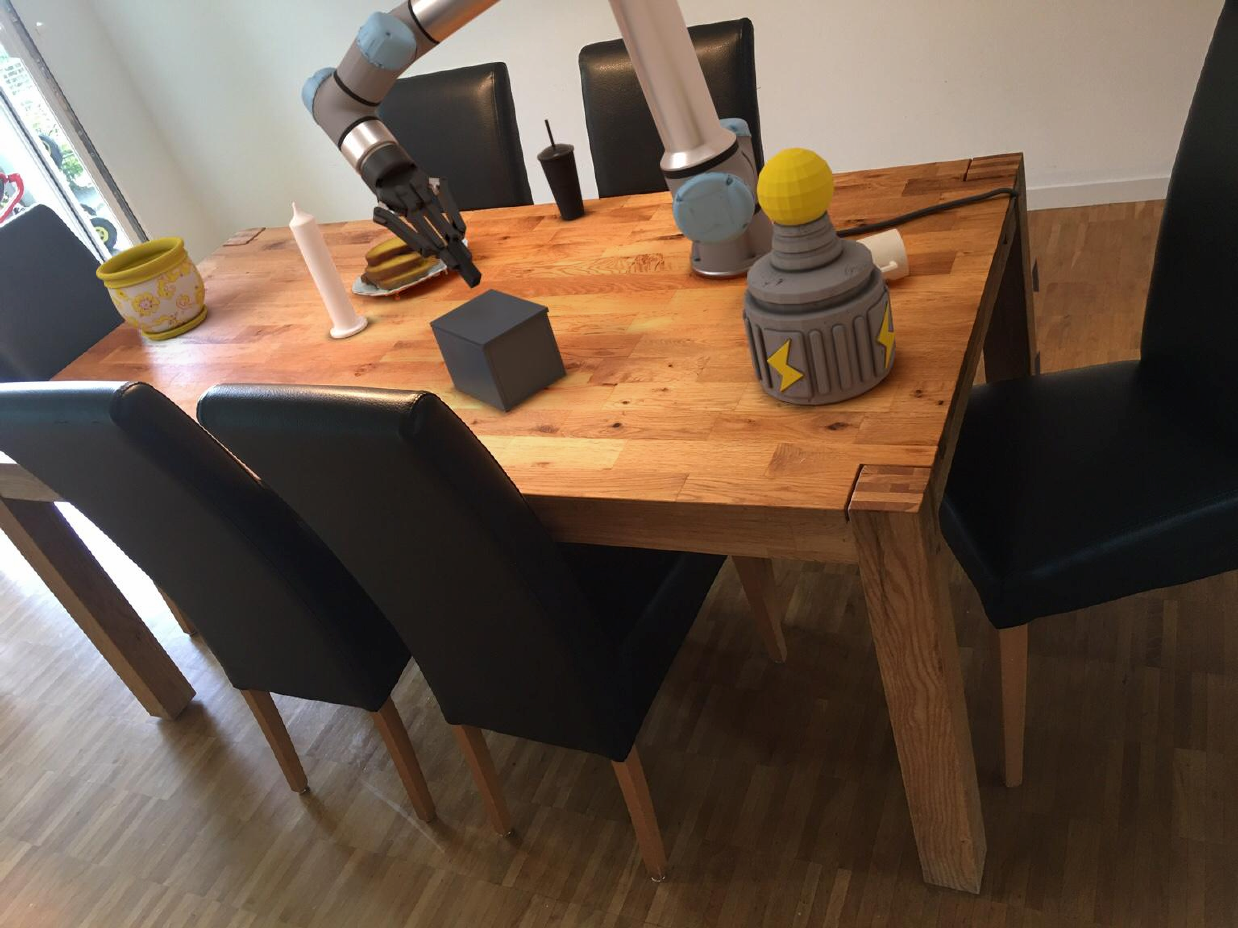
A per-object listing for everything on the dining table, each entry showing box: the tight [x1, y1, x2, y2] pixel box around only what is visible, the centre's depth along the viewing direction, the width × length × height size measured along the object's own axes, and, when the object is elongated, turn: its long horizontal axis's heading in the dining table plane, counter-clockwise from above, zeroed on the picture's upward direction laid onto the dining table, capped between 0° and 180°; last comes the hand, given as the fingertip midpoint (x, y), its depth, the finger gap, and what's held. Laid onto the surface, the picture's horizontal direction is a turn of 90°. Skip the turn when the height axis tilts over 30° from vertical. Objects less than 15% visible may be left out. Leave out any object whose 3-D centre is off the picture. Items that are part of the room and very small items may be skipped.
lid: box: [429, 288, 550, 349], centre depth 150 cm, size 15×12×1 cm
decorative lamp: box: [741, 147, 897, 406], centre depth 127 cm, size 19×19×30 cm
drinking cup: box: [536, 118, 586, 222], centre depth 205 cm, size 8×8×20 cm
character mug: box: [856, 228, 910, 283], centre depth 150 cm, size 11×7×13 cm
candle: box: [288, 202, 368, 339], centre depth 184 cm, size 7×7×25 cm
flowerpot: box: [95, 236, 208, 341], centre depth 213 cm, size 18×18×16 cm
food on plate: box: [350, 232, 470, 304], centre depth 204 cm, size 25×25×7 cm
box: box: [431, 313, 568, 413], centre depth 153 cm, size 15×12×11 cm
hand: (476, 281), depth 147 cm, fingers closed
